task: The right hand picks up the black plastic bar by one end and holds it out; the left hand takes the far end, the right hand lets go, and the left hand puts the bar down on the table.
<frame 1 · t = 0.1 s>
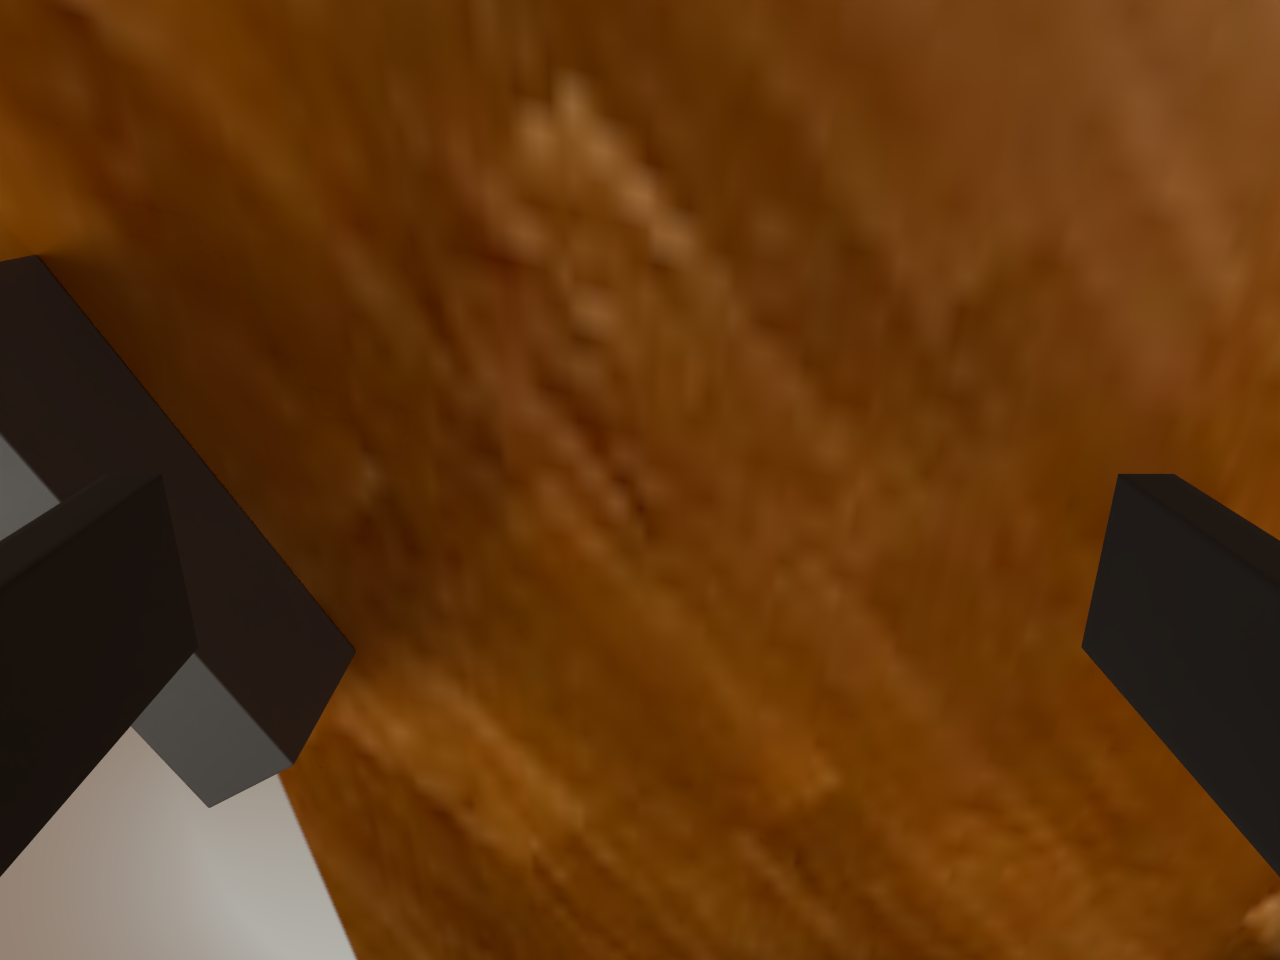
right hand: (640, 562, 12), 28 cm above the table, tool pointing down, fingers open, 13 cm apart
bar: (173, 492, 42), on the table
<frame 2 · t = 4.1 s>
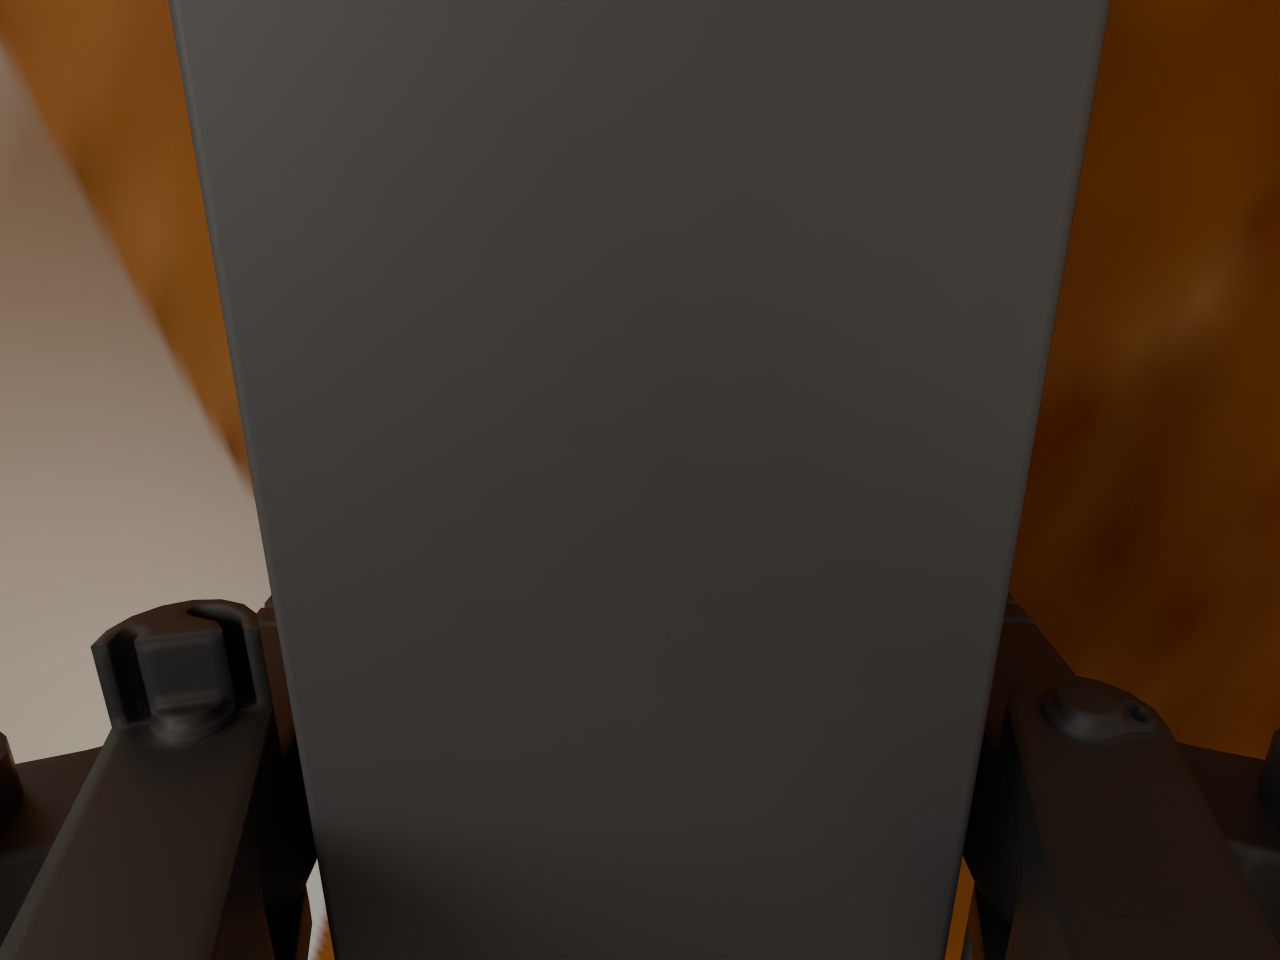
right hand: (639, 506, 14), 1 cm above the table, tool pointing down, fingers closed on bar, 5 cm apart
bar: (639, 12, 12), on the table, touching right hand
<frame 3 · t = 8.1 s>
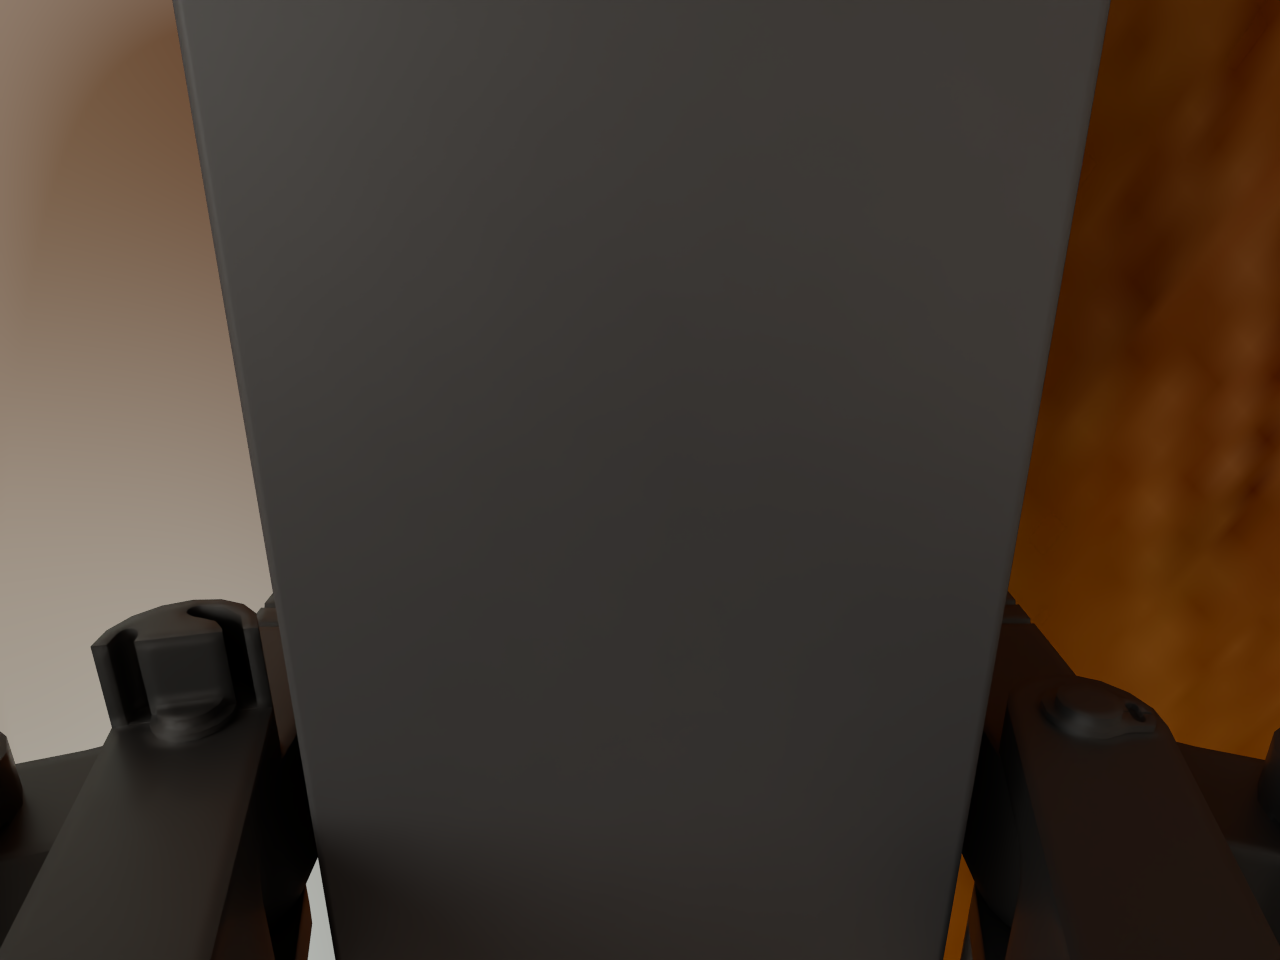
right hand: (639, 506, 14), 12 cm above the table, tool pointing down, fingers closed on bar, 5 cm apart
bar: (641, 11, 12), point 11 cm above the table, touching right hand, left hand
when the right hand's fingers open (12 cm above the table, at t = 8.9 s): bar stays where it is, held by the left hand.
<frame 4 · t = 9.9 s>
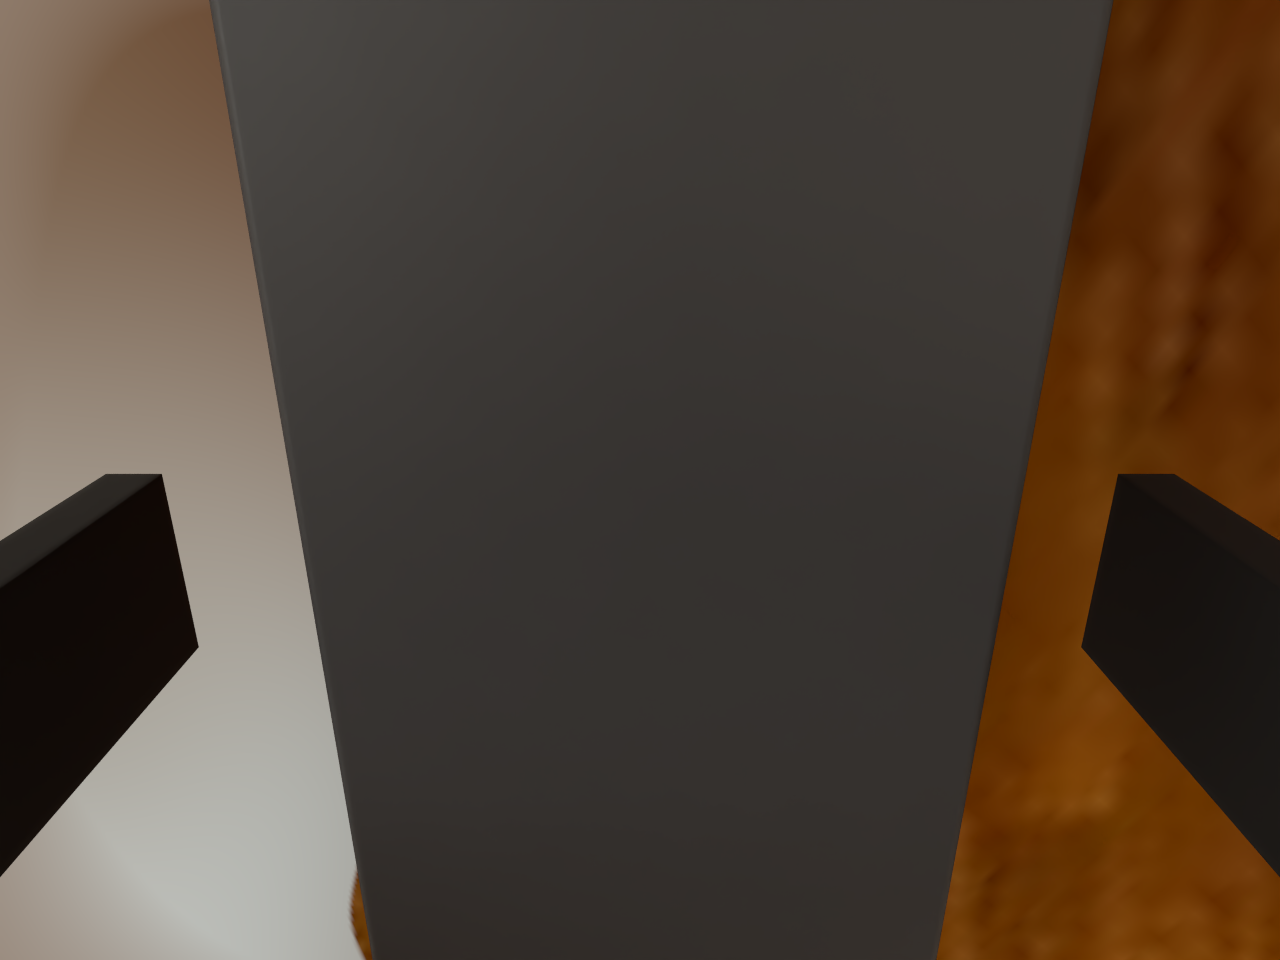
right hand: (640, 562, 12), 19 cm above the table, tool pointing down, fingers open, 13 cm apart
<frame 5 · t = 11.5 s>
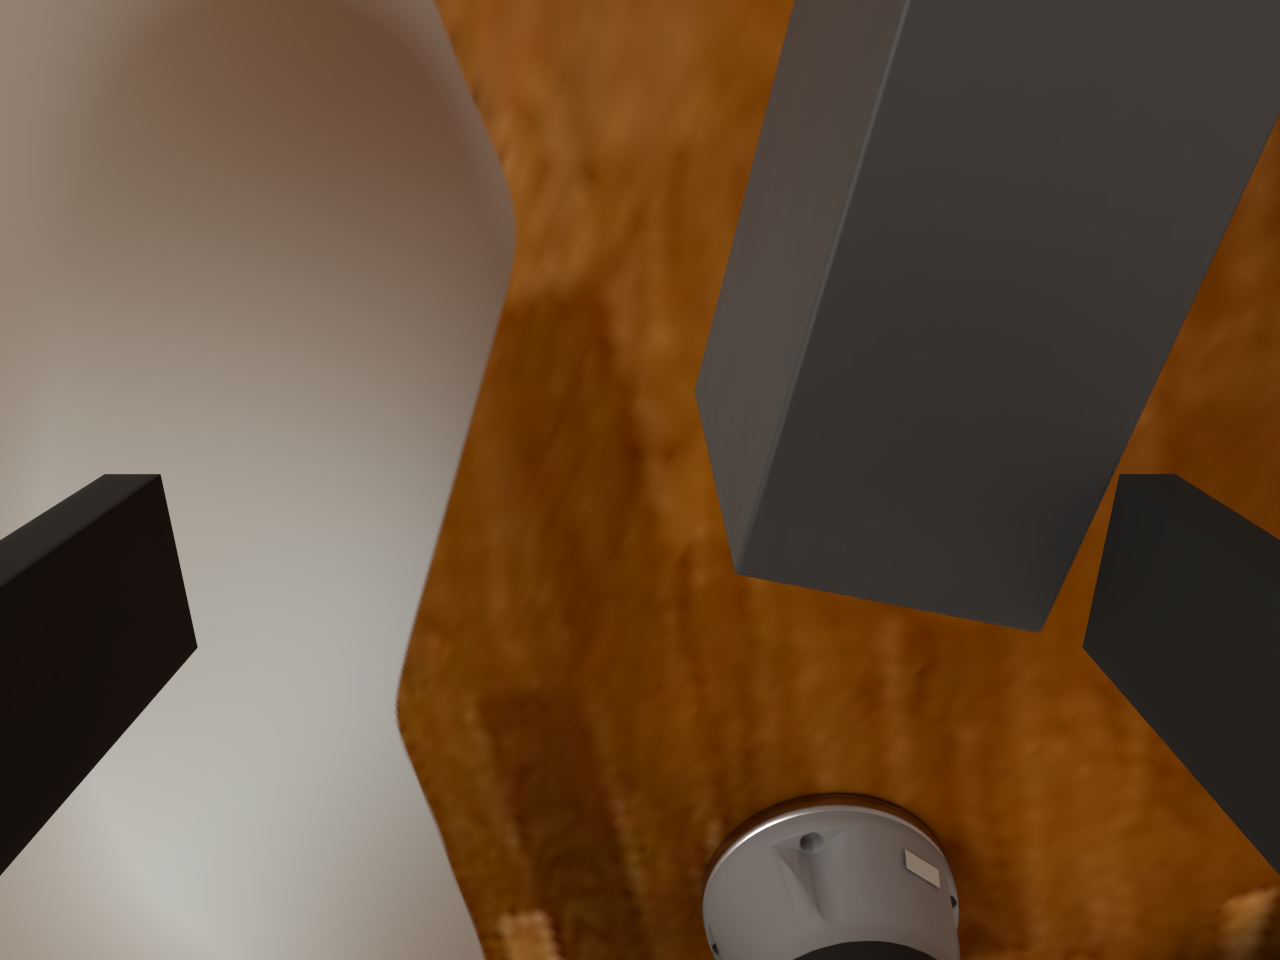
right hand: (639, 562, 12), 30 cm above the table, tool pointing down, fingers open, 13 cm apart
when the left hand's fingers open (6 cm above the table, at t = 16.9 s): bar stays where it is, on the table.
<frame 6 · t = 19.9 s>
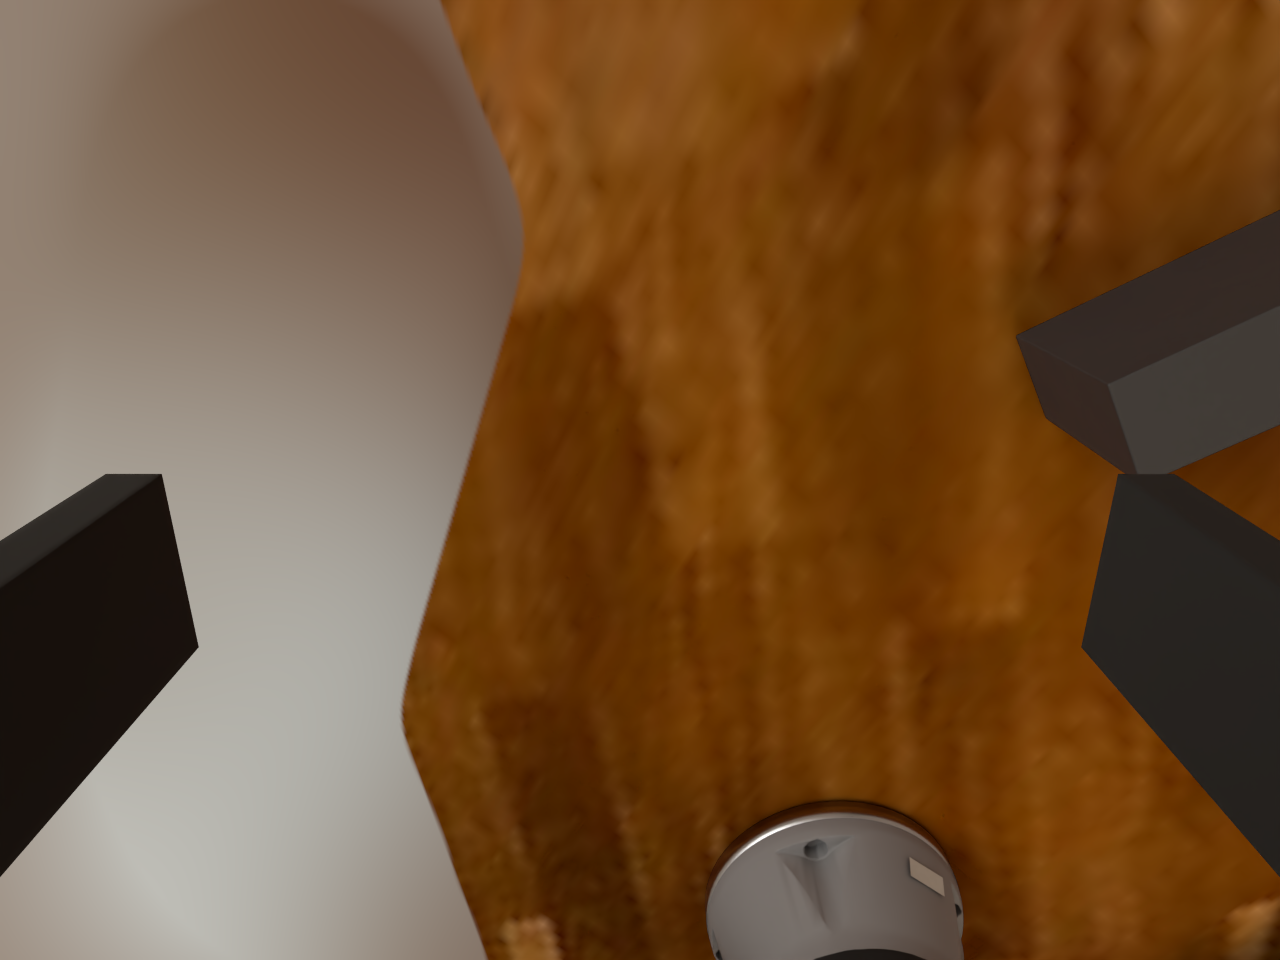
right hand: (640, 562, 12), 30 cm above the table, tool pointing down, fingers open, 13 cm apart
bar: (1273, 264, 40), on the table
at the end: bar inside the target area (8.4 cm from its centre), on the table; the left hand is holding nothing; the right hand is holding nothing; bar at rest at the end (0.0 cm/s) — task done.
